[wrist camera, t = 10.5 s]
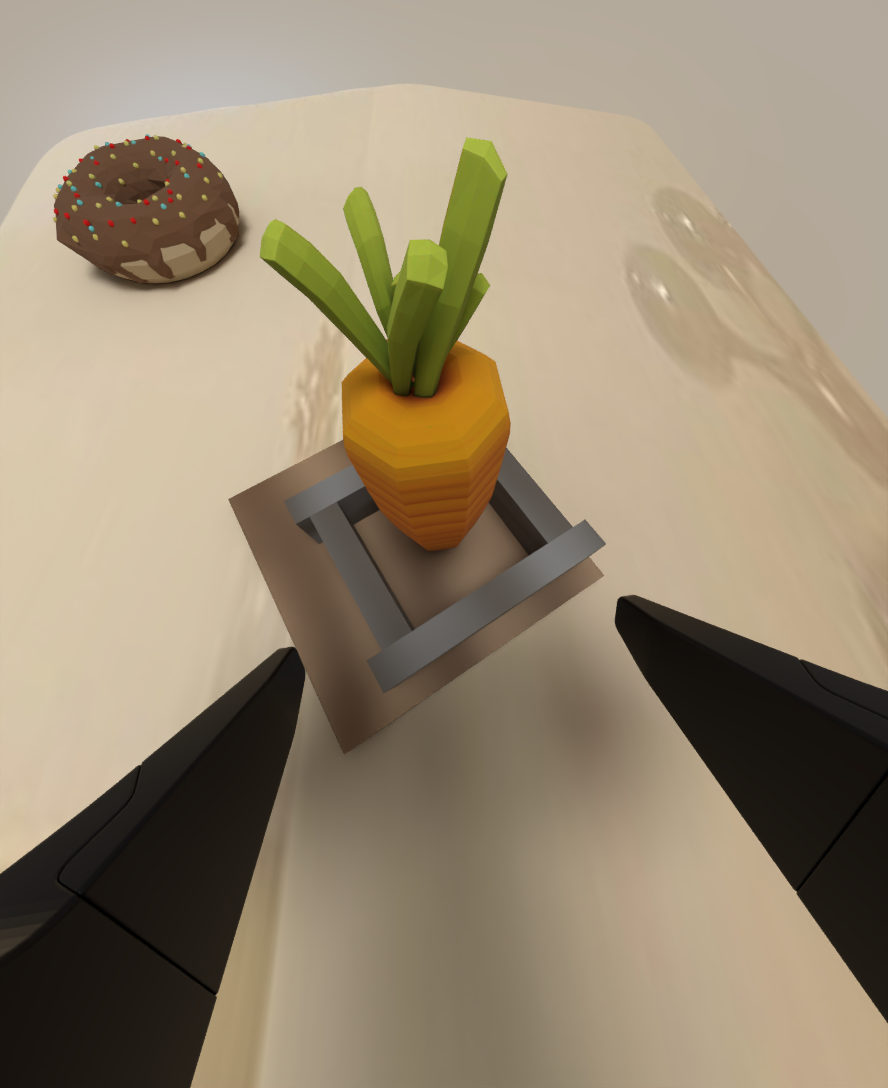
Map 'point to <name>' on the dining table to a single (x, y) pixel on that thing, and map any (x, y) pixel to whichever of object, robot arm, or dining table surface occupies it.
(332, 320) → the carrot
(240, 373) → the dining table surface
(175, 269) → the donut
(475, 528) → the grey frame on base
